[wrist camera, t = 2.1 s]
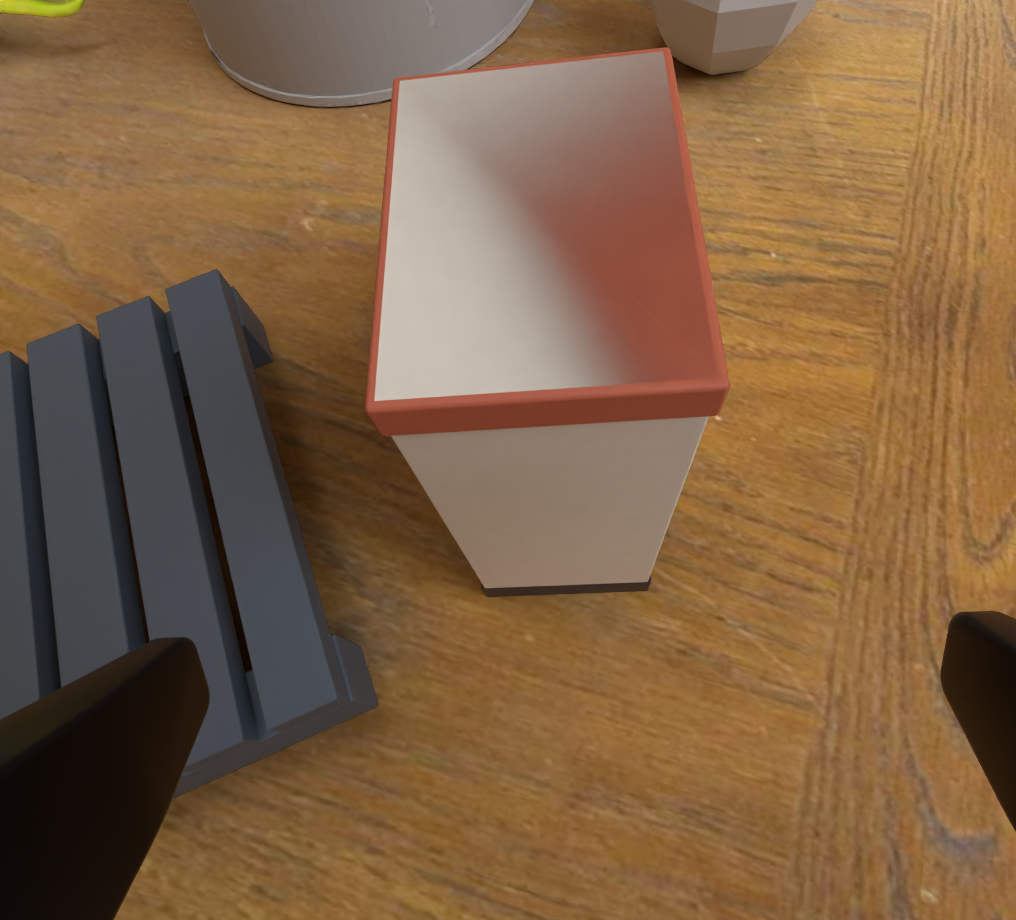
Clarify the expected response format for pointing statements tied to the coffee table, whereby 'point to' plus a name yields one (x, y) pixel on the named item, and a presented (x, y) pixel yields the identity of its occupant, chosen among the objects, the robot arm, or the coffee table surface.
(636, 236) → the cream boot
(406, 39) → the container
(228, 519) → the grey shipping pallet
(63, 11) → the dinosaur figurine
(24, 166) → the coffee table surface
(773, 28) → the apple
